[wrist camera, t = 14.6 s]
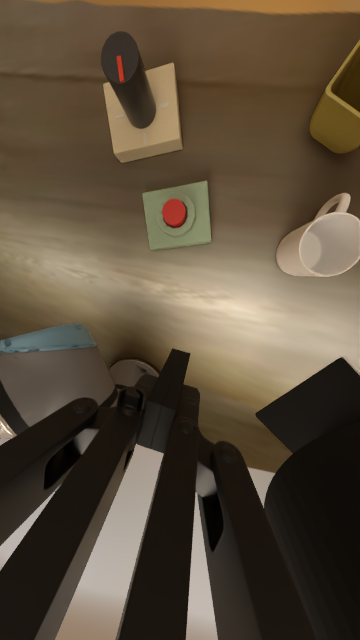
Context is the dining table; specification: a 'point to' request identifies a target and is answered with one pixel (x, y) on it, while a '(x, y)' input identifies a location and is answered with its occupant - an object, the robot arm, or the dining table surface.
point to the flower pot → (340, 108)
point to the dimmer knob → (128, 78)
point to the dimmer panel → (160, 132)
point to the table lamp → (320, 496)
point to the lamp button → (174, 212)
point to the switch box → (195, 223)
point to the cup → (322, 243)
